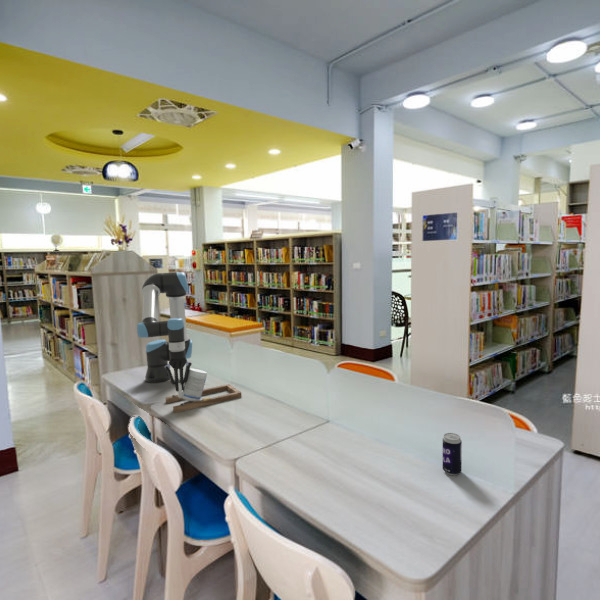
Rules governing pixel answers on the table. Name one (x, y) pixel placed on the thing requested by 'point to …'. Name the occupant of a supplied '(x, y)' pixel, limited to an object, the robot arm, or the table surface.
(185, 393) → the supplement tub
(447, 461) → the beverage can
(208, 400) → the beam track
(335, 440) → the table surface
